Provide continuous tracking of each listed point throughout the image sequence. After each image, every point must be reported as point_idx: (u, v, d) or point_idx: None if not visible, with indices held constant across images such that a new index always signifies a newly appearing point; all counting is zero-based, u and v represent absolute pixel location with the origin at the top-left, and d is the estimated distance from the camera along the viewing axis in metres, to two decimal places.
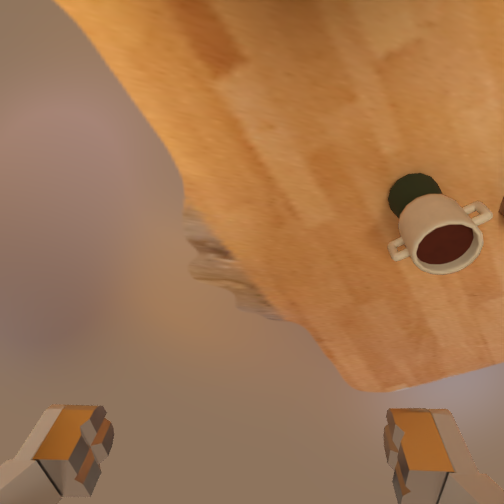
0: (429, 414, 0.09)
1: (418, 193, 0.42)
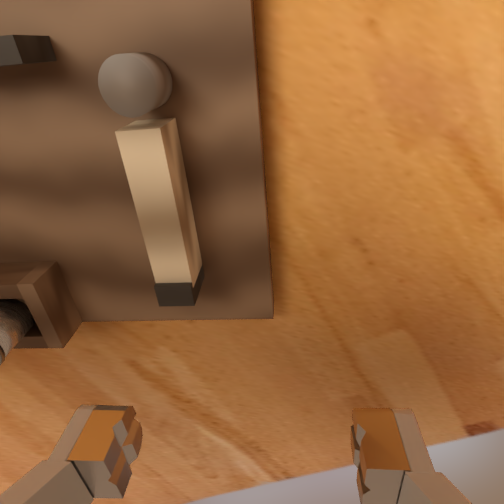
0: (391, 413, 0.09)
1: None
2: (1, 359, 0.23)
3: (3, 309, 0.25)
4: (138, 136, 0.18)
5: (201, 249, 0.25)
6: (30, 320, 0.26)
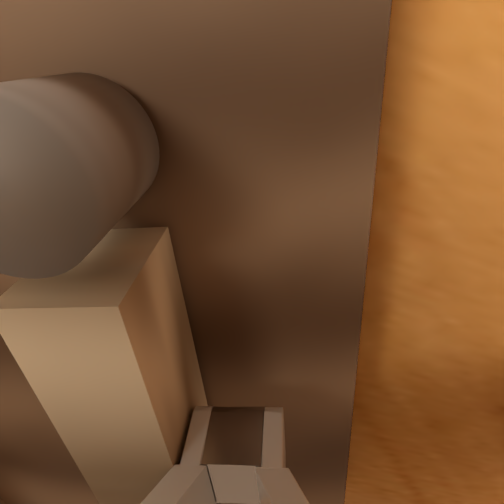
0: (261, 412, 0.09)
1: None
2: None
3: None
4: (56, 322, 0.06)
5: None
6: None
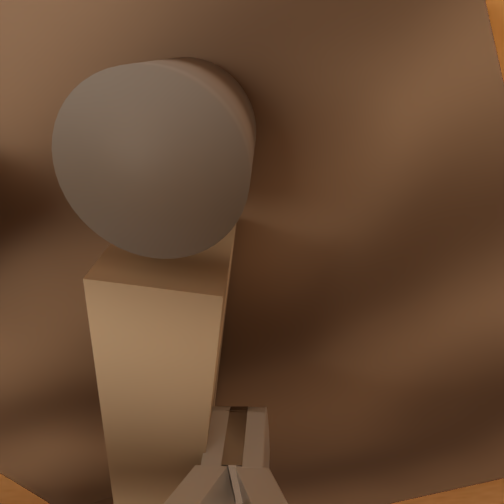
0: (244, 411, 0.09)
1: None
2: None
3: None
4: (152, 302, 0.06)
5: (408, 397, 0.12)
6: None
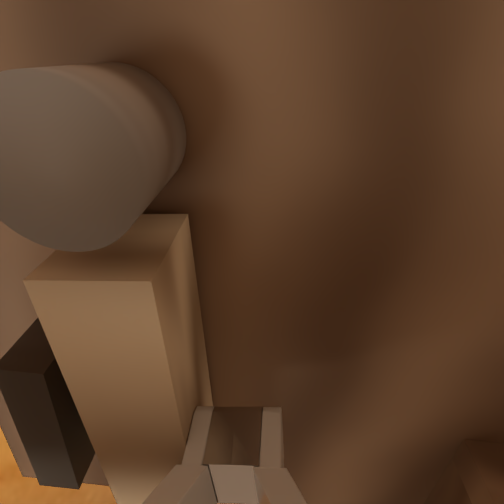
0: (259, 412, 0.09)
1: None
2: None
3: None
4: (89, 295, 0.07)
5: None
6: None
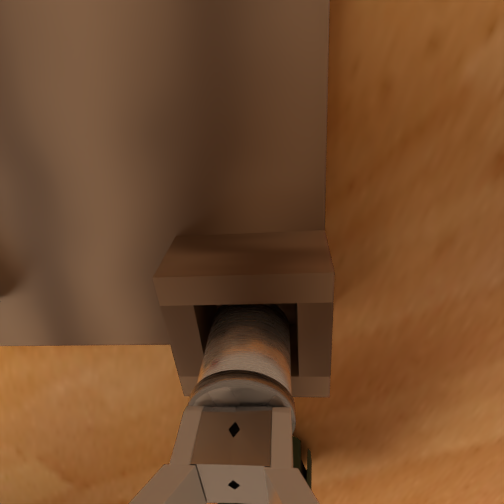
0: (269, 412, 0.09)
1: None
2: (257, 383, 0.10)
3: (208, 338, 0.13)
4: None
5: None
6: (251, 305, 0.13)
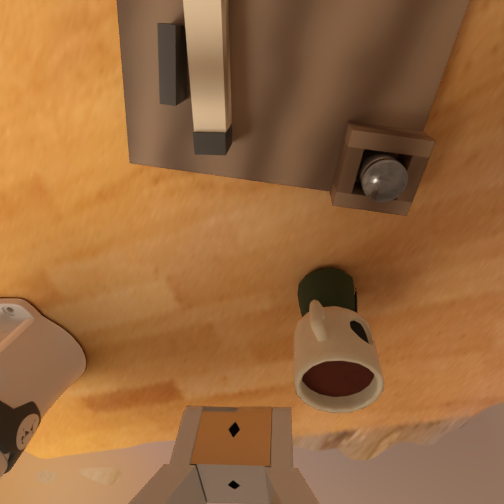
0: (269, 412, 0.09)
1: None
2: (399, 162, 0.25)
3: (361, 159, 0.28)
4: None
5: None
6: None
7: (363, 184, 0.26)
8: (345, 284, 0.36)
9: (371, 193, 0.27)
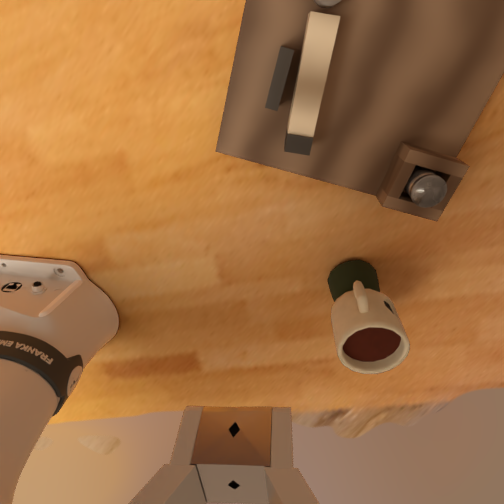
0: (269, 412, 0.09)
1: None
2: None
3: None
4: (324, 18, 0.28)
5: (455, 9, 0.30)
6: None
7: (412, 192, 0.34)
8: (372, 274, 0.43)
9: (416, 200, 0.34)
